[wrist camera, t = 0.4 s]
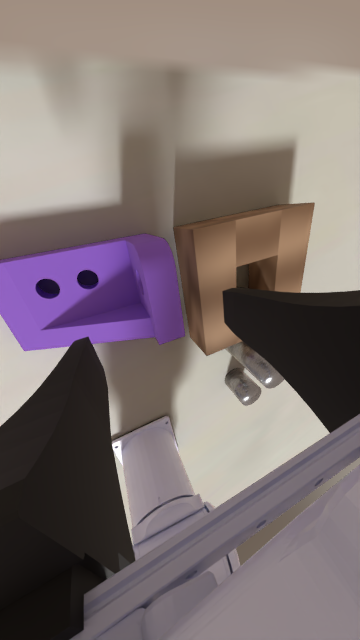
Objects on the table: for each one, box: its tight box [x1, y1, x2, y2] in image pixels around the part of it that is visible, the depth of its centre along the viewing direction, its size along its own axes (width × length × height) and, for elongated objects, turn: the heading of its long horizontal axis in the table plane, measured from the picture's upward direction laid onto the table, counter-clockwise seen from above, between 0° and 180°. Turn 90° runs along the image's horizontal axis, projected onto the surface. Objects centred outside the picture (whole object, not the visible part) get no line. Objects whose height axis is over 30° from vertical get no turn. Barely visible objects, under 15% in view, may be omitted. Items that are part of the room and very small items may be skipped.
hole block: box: [173, 203, 315, 356], centre depth 21 cm, size 12×12×4 cm
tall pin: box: [225, 341, 284, 388], centre depth 24 cm, size 3×3×8 cm
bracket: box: [0, 233, 185, 351], centre depth 15 cm, size 12×7×7 cm, turn 95°
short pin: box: [225, 368, 261, 405], centre depth 29 cm, size 3×3×4 cm
